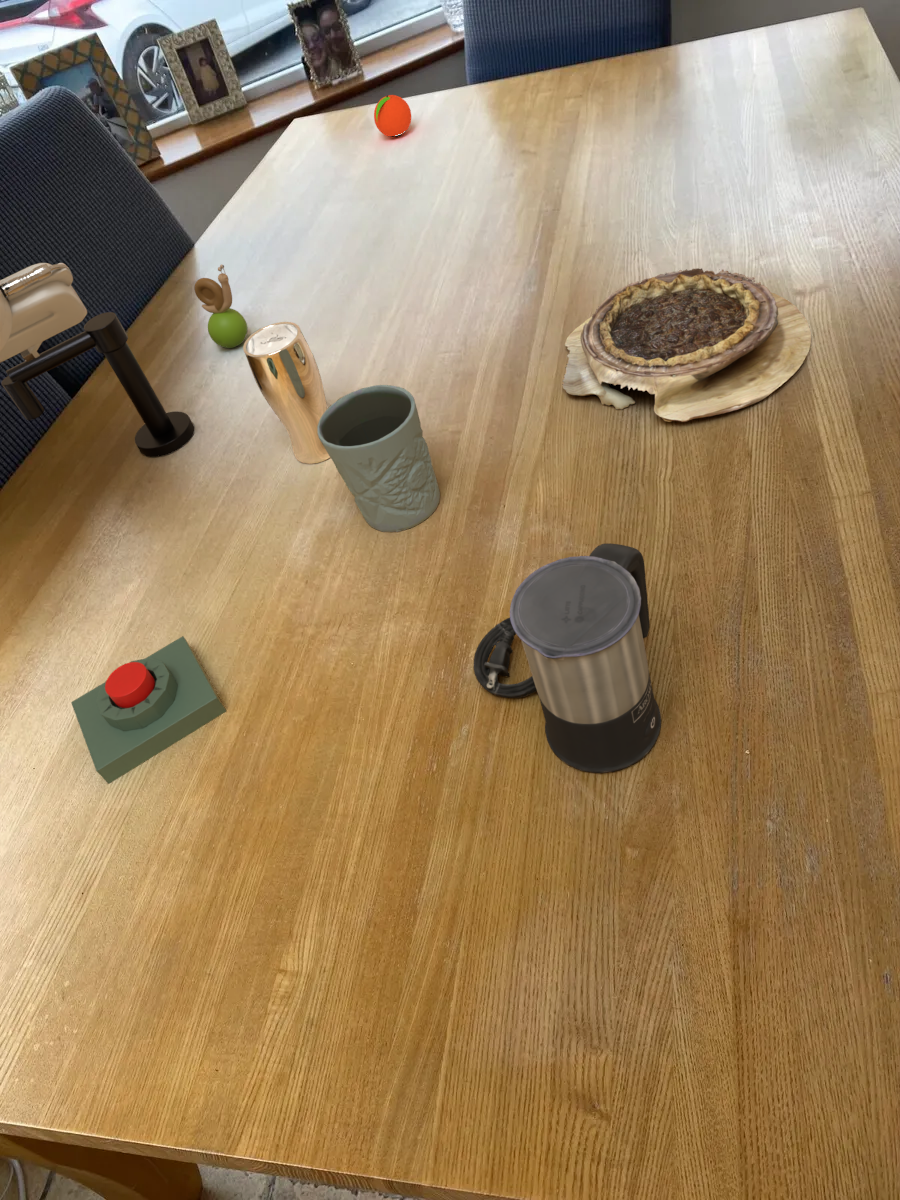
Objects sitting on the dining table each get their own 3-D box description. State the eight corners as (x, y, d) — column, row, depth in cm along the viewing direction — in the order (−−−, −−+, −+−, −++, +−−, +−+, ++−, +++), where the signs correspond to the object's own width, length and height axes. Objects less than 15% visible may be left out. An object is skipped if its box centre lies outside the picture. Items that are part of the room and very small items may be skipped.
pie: (576, 299, 120) (570, 263, 117) (805, 271, 111) (805, 232, 108) (547, 438, 102) (539, 400, 99) (817, 417, 94) (818, 375, 90)
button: (120, 715, 84) (110, 704, 83) (109, 689, 87) (99, 677, 86) (160, 691, 85) (151, 680, 84) (148, 666, 88) (139, 654, 87)
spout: (29, 425, 110) (-3, 380, 106) (22, 412, 113) (-9, 368, 109) (145, 365, 113) (119, 319, 109) (136, 353, 116) (110, 308, 112)
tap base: (149, 465, 119) (92, 372, 109) (133, 440, 124) (77, 349, 114) (202, 436, 120) (151, 341, 110) (184, 413, 125) (133, 320, 116)
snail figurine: (248, 354, 132) (212, 276, 124) (211, 356, 134) (173, 279, 126) (265, 332, 135) (231, 255, 127) (228, 334, 138) (192, 258, 129)
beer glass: (316, 424, 115) (270, 317, 105) (358, 435, 112) (314, 324, 101) (280, 459, 112) (228, 352, 102) (321, 471, 108) (272, 361, 98)
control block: (108, 784, 84) (85, 759, 81) (82, 715, 91) (60, 690, 88) (227, 711, 86) (208, 685, 84) (192, 649, 93) (174, 623, 90)
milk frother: (660, 777, 71) (639, 652, 60) (458, 775, 75) (407, 658, 65) (664, 633, 80) (646, 503, 70) (484, 638, 85) (443, 517, 74)
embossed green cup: (452, 521, 97) (421, 427, 88) (359, 549, 97) (319, 459, 89) (437, 463, 104) (407, 372, 95) (350, 490, 105) (313, 402, 96)
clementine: (399, 146, 172) (387, 106, 167) (369, 146, 175) (357, 107, 170) (422, 126, 176) (412, 86, 171) (393, 127, 179) (382, 88, 174)
